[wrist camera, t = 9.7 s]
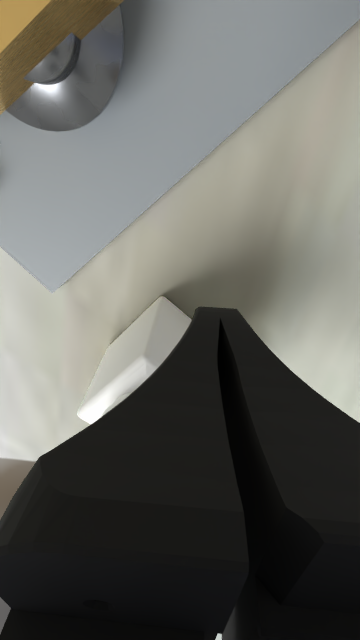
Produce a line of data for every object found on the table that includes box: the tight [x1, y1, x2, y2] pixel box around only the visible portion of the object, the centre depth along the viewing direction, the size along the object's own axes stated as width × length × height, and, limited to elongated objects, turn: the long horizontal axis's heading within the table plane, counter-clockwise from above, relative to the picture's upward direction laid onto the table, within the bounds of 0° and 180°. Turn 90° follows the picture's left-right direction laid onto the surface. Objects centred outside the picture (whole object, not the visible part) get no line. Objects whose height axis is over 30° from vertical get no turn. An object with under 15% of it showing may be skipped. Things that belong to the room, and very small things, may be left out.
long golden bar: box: [0, 0, 125, 132], centre depth 10 cm, size 7×13×4 cm, turn 120°
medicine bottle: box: [77, 296, 192, 424], centre depth 18 cm, size 7×7×12 cm
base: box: [0, 0, 360, 293], centre depth 13 cm, size 22×16×2 cm
